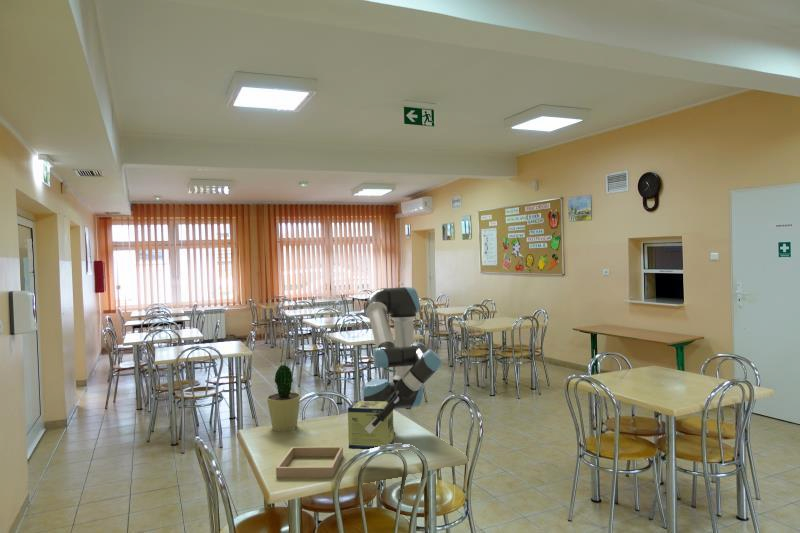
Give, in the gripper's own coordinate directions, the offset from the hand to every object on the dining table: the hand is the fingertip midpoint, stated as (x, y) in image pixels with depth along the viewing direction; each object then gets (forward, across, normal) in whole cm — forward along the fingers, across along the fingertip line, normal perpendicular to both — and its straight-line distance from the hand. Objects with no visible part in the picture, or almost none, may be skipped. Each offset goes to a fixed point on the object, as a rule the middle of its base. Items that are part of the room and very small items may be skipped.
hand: (369, 426), depth 207 cm
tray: (+26, -1, +6) cm, 27 cm away
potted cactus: (+43, +47, +23) cm, 68 cm away
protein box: (+5, 0, -6) cm, 8 cm away
